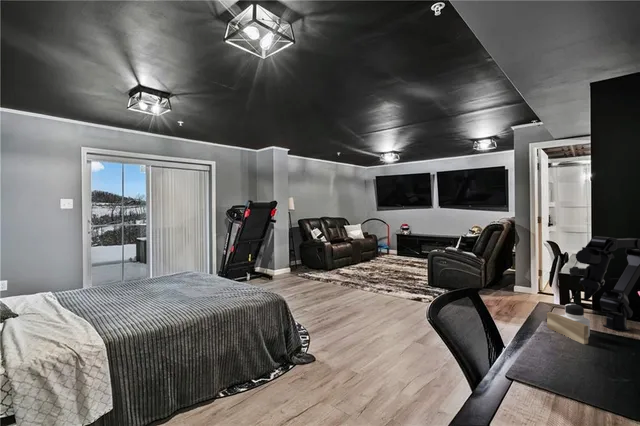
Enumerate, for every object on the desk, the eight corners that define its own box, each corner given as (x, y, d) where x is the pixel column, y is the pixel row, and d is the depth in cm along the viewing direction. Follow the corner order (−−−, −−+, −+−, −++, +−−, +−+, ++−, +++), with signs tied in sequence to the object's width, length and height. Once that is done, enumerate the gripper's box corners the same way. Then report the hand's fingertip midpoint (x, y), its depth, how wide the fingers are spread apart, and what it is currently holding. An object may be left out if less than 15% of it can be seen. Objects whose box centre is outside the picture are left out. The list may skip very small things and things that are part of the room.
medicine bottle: (590, 336, 128) (590, 307, 128) (575, 338, 127) (575, 308, 127) (573, 330, 135) (573, 302, 135) (558, 331, 134) (559, 303, 134)
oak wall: (551, 328, 137) (551, 312, 137) (588, 343, 122) (588, 325, 121) (547, 328, 137) (547, 312, 137) (583, 344, 121) (583, 326, 121)
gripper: (578, 258, 145) (567, 289, 148) (570, 260, 133) (558, 294, 135) (610, 267, 137) (597, 300, 140) (604, 270, 125) (591, 306, 127)
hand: (585, 300), depth 135 cm, fingers closed
